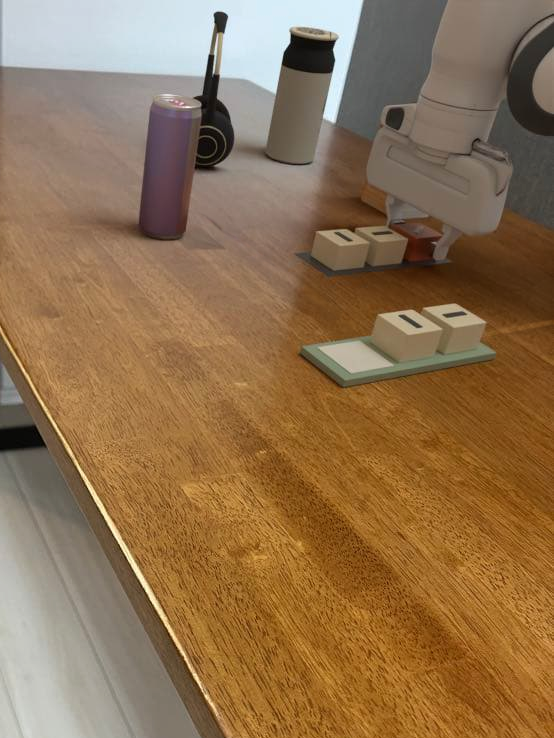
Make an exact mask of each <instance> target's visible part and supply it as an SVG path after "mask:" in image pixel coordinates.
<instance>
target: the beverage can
mask: <svg viewBox="0 0 554 738" xmlns="http://www.w3.org/2000/svg"><path fill="white" fill-rule="evenodd" d="M148 116H149V117H148V123H147V124H148V125H147V132H146V133H147V135H146V145H145V153H144V163H143V165H144V166H143V172H142V173H143V174H142V184H141V194H140V202H139V213H138V223H137V224H138V227H139V229H140V231H141V233H143V235H145V236H148V237H150V238H152V239H158V240H167V241H170V240H176V239H177V240H178V239H179V238H181V237H182V236H183V235H184V234H185V233H186V231H187V225H188V217H189V212H190V211H189V210H190V203H191V197H192V189H193V182H194V181H193V180H194V173H195V168H196V167H195V160H196V153H197V146H198V139H199V131H200V124H201V117H202V113H201V103H200V102H199V101H198V100H196V99H193V97H190V96H184V95H180V94H170V93H169V94H167V93H166V94H165V93H164V94H156V95H154V96H152V102H151V105H150V107H149V115H148Z"/></svg>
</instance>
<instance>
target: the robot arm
mask: <svg viewBox="0 0 554 738" xmlns="http://www.w3.org/2000/svg"><path fill="white" fill-rule="evenodd" d="M443 10H444V11H443V14H442V16H441V19H440V22H439V26H438V28H437V33H436V35H435V39H434V42H433V46H432V49H431V64H430V70H429V73H428V75H427V77H426V79H425V81H424V83H423V84H422V87H421V89H420V92H419V96H418V100H417V101H413V102H410V103H404V104H403V103H401V104H394V105H393V104H392V105H386V106H384V107H383V109H382V111H381V115H380V125H381V124H382V125H383V126H384V127H382V128H381V129H380V128H379V130H378V131H377V132H376V135H375V137H374V139H373V142H372V145H371V150H370V153H369V157H368V160H367V163H366V169H365V175H366V178H367V181H368V184H370V185H372V186H374V187H376V188H378V189H379V190H381V191H383V192H385V193H387V198H386V201H385V204H386V211H387V215H386V218H387V220H386V224H385V226H386V227H387V228H389V229H391V230H392V226H393V225H398V224H406V221H405V219H402V204H405V203H406V204H408V205H410V206H412V207H414V208H416V209H418V210H420V211H422V212H424V213H426V214H427V215H429V216H428V217H431V218H433V219H435V220H437V221H439V222H441V223H443V224H442V228H441V233H442V235H443V236H442V237H441V238H440V240H439V241H438V242H431V244H430V247H429V251H428V253H427V255H428V256H429V257H431V258H433V259H434V260H436V261H438V260H443V259H445V258H447V254H448V252H449V249H450V247H451V246H452V245H453V244H454V243H455V242H456V241H458V240H459V239H460V237H461V236H462V235H463V234H464V235H466V236H468V237H470V238H471V237H472V238H473V237H477V238H478V237H485V236H489V235H491V234H492V233H493V232H495V231H496V230H497V229H498V227H499V224H500V222H501V218H502V215H503V211H504V207H505V204H506V199H507V196H508V195H507V194H508V190H509V185H510V181H511V178H512V175H513V171H514V166H513V162H512V160H511V158H510V157H509V153H508V152H507V150H505V149H503V148H502V147H501V148H500V147H496V146H493V145H492V144H490V143H489V142H488V140H489V136H490V133H491V130H492V128H493V125H494V122H495V119H496V116H497V114H498V113H497V112H498V111H499V107H500V104H501V102H502V101H503V100H507V106H508V108H509V111H510V113H511V115H512V117H513V119H514V120H515V121H516V122H517V124H518V125H519V126H521V127H522V128H523V129H525V130H527V131H528V132H530V133H532V134H535V135H538V136H542V137H554V0H447V3H446V5H445V8H444V9H443Z"/></svg>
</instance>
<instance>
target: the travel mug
mask: <svg viewBox="0 0 554 738" xmlns="http://www.w3.org/2000/svg"><path fill="white" fill-rule="evenodd" d="M288 32H289V33H290V36H289V37H290V38H289V44H288V45H287V47H286V48H285V49H284V51H283V53H282V60H281V65H280V68H279V76H278V81H277V87H276V91H275V97H274V102H273V108H272V114H271V119H270V125H269V130H268V135H267V140H266V144H265V145H266V146H265V151H264V152H265V154H266V155H267V156H268V157H269V158H271V159H272V160H275V161H276V162H280V163H285V164H290V165H306V164H309V163H312V162H313V161H315V154H316V150H317V146H318V141H319V137H320V133H321V126H322V124H323V119H324V114H325V110H326V106H327V105H326V104H327V101H328V96H329V92H330V86H331V82H332V78H333V74H334V68H335V64H336V57H335V52H334V47H335V46H336V42H337V40H339V37H340V35H338V33H335V32H334V31H331V30H326V29H321V28H316V27H309V26H308V27H307V26H292V27H290V28H289V31H288Z"/></svg>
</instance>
